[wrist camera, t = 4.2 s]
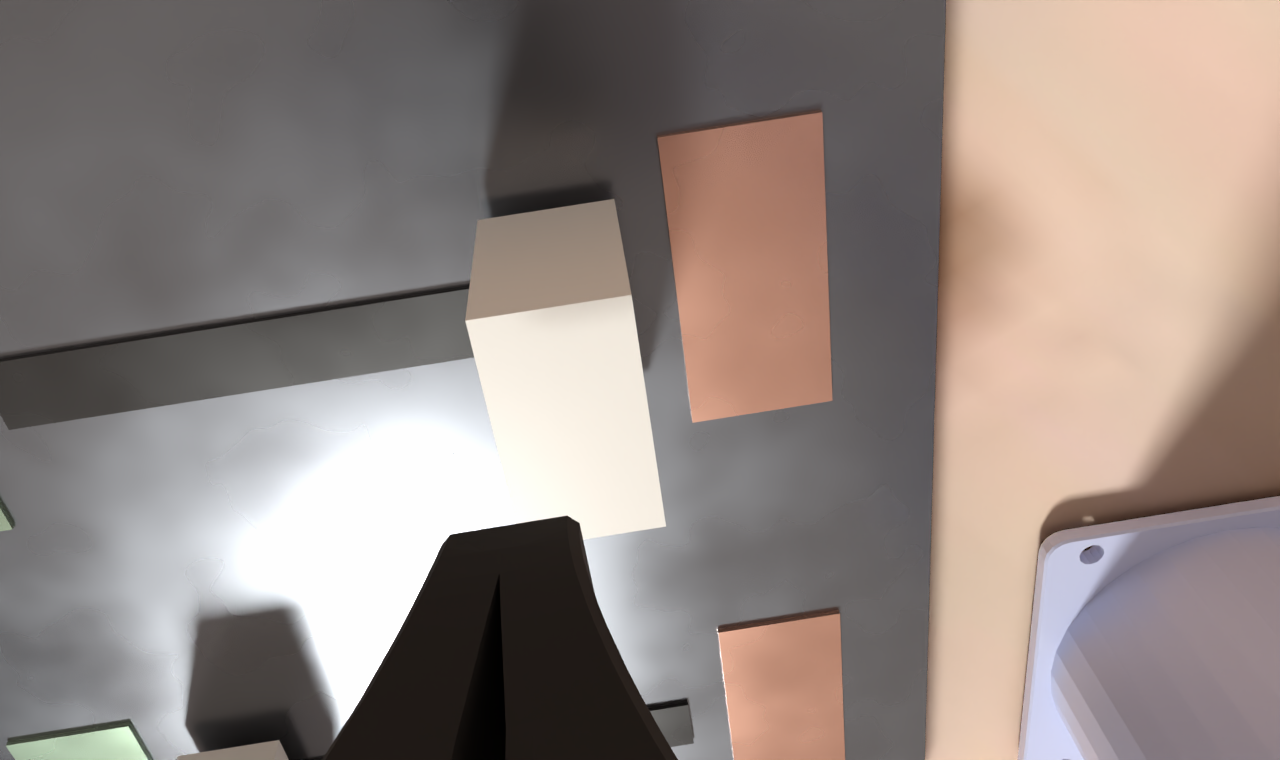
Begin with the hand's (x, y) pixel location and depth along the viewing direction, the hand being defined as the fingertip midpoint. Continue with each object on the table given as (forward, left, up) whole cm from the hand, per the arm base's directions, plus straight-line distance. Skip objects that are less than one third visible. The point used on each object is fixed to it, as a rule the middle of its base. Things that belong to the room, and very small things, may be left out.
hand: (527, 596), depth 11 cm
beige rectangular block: (-1, 0, -6) cm, 6 cm away
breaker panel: (+4, +5, -8) cm, 10 cm away
